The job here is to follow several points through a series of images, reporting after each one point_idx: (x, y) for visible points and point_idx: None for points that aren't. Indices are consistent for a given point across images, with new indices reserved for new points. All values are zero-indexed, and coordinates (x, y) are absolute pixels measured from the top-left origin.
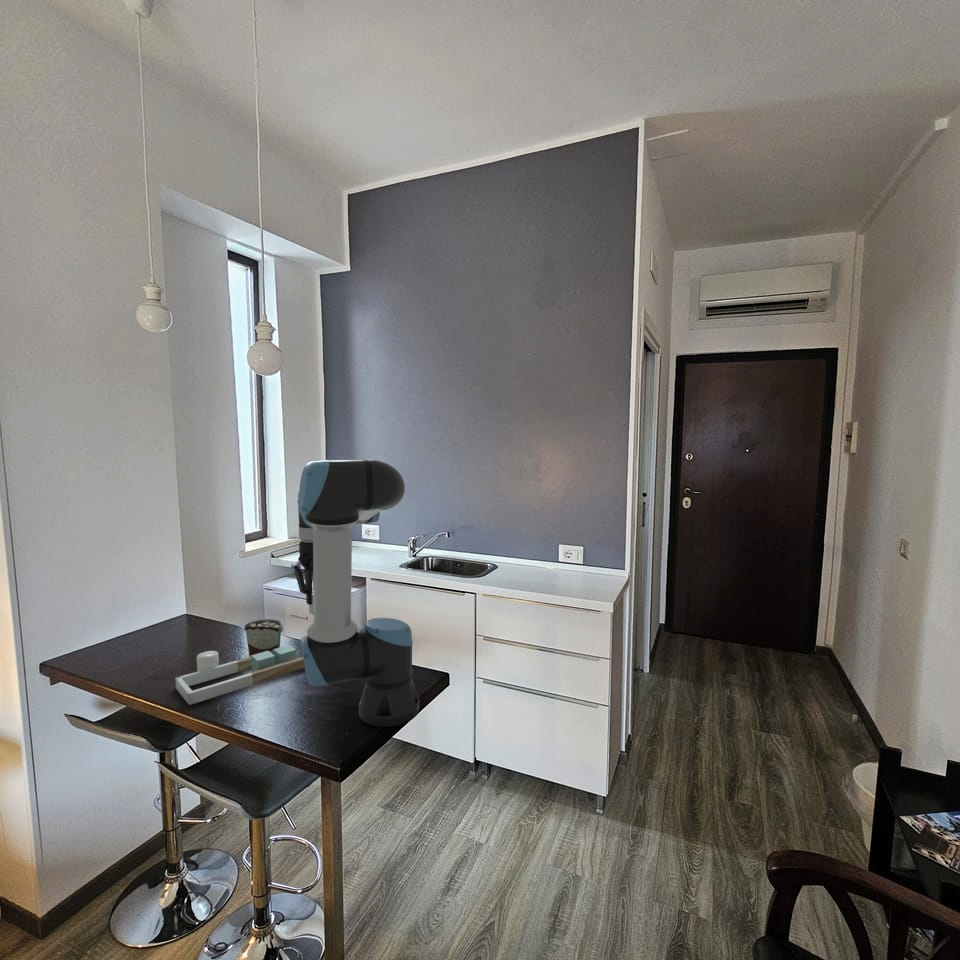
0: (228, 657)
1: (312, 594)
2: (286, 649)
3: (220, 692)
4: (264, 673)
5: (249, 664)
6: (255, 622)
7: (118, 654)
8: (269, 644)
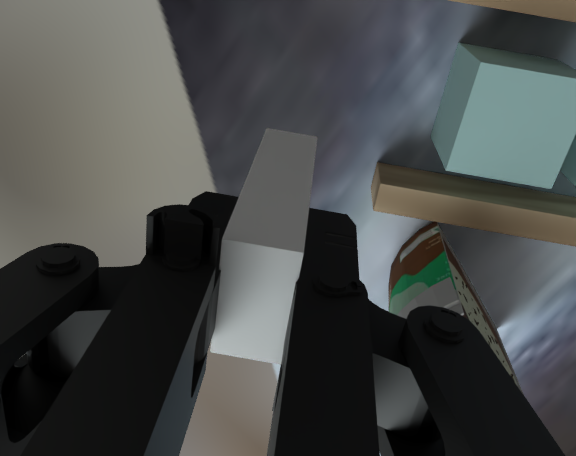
0: (557, 374)
1: (294, 269)
2: (511, 120)
3: None
4: None
5: None
6: None
7: None
8: (464, 289)
